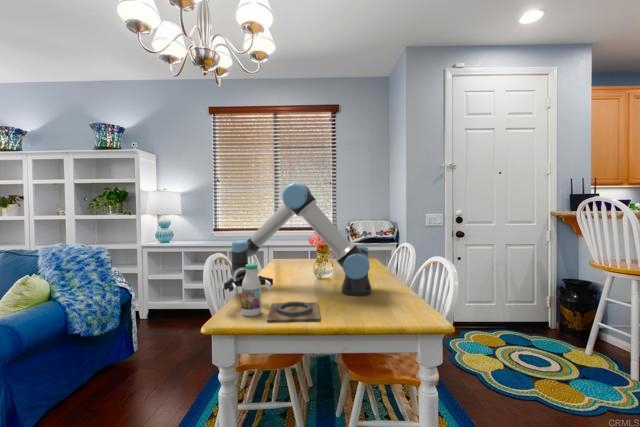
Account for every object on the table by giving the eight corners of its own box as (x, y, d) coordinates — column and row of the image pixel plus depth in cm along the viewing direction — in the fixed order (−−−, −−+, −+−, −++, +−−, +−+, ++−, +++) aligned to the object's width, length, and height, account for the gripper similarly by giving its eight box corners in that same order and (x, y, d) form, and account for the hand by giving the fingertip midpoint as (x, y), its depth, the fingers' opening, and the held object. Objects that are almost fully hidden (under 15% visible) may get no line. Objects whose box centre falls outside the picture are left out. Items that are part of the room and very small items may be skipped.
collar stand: (317, 304, 140) (317, 299, 139) (320, 321, 120) (320, 314, 120) (271, 305, 138) (271, 299, 138) (266, 322, 118) (266, 315, 118)
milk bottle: (244, 310, 132) (244, 262, 132) (262, 310, 132) (262, 262, 131) (239, 316, 124) (238, 266, 124) (258, 317, 124) (258, 266, 124)
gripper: (270, 282, 149) (283, 294, 130) (214, 288, 139) (220, 301, 120) (270, 267, 149) (283, 276, 130) (214, 271, 139) (220, 282, 120)
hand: (253, 288), depth 125 cm, fingers open, 13 cm apart
